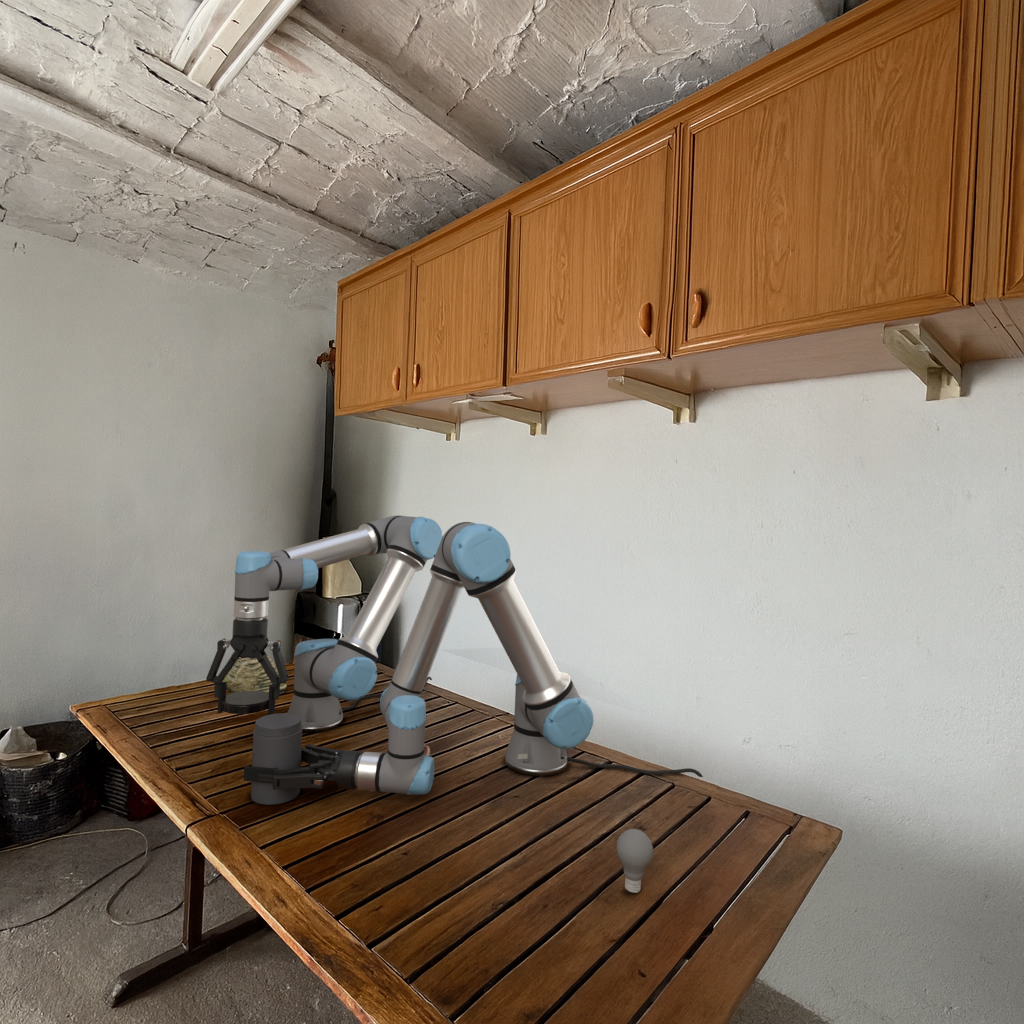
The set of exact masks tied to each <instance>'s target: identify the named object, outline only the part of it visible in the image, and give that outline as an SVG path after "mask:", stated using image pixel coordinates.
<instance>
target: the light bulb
mask: <svg viewBox="0 0 1024 1024" xmlns="http://www.w3.org/2000/svg"><path fill="white" fill-rule="evenodd" d="M615 849H616V854H617V857H618V859H619V861H620V863H621V865H622V867H623V873H624V874H623V875H624V876H625V878H624V888H625V890H627V891H628V892H630V893H634V894H635V893H639V892H640V891H641V889H642V887H641V886H642V879H643V877H644V875H645V871H646V868H647V867H648V866H649V864H650V863H651V861H652V859H653V855H654V847H653V843H652V841H651V838H649V836H648V835H647V834H646V833H645V832H643V831H642V830H641V829H636V828H629V829H627V830H625V831H623V832H622V833H621V834H620V835H619V837H618V839H617V841H616V847H615Z"/></svg>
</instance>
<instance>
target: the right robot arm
mask: <svg viewBox="0 0 1024 1024" xmlns="http://www.w3.org/2000/svg"><path fill="white" fill-rule="evenodd" d="M442 536H443V537H442V539H441V542H440V544H439V547H438V549H437V552H436V555H435V558H433V561H432V564H431V566H430V569H429V572H430V575H431V578H430V580H429V584H428V586H427V588H426V591H425V594H424V596H423V598H422V601H421V604H420V606H419V608H418V612H417V614H416V617H415V619H414V622H413V624H412V627H411V629H410V631H409V634H408V636H407V639H406V642H405V644H404V647H403V650H402V652H401V654H400V657H399V660H398V662H397V665H396V667H395V670H394V672H393V675H392V678H391V679H390V680H391V681H390V683H389V685H388V687H386V688H385V689H384V690H383V692H382V693H381V694H382V695H381V696H380V698H379V700H380V702H379V705H380V707H379V708H380V712H381V714H382V716H383V718H384V721H385V724H386V727H387V731H388V740H387V742H388V743H387V744H388V746H387V753H386V752H378V751H363V752H362V751H359V750H348V749H347V750H345V749H333V748H329V747H324V746H319V745H314V744H309V743H307V744H305V745H304V747H303V746H302V750H301V763H305V764H308V766H303V767H302V766H301V768H295V769H287V770H280V771H277V767H276V768H265V767H252V765H251V766H250V765H245V766H244V767H243V782H251V781H254V782H267V783H273V789H274V790H277V789H299V788H300V789H318V790H322V789H324V788H325V783H326V782H335V783H336V786H337V788H339V789H340V790H352V791H355V790H356V789H357V790H359V791H367V792H370V793H375V792H378V793H379V792H381V793H391V794H392V793H393V794H402V795H407V796H409V795H411V796H412V795H413V796H414V795H416V796H417V795H419V796H421V795H427V794H428V793H430V792H431V789H432V788H433V784H434V780H435V779H434V778H435V770H436V769H435V768H436V766H435V759H434V757H432V756H430V755H429V756H427V755H425V752H424V745H425V737H426V721H427V715H428V714H427V713H426V712H427V704H426V701H425V699H424V698H423V697H421V695H422V693H423V691H424V688H425V686H426V684H427V683H426V680H427V678H428V677H429V675H430V673H431V670H432V667H433V664H434V662H435V661H436V657H437V655H438V652H439V649H440V646H441V644H442V642H443V640H444V637H445V634H446V632H447V629H448V626H449V623H450V622H451V619H452V616H453V614H454V611H455V609H456V606H457V603H458V601H459V598H460V596H461V594H462V590H463V589H464V590H465V591H466V594H467V595H468V597H472V598H475V599H476V600H478V602H479V603H480V605H481V607H482V609H483V611H484V613H485V615H486V617H487V619H488V621H489V622H490V625H491V627H492V628H493V630H494V632H495V634H496V636H497V638H498V640H499V642H500V643H501V646H502V647H503V650H504V652H505V654H506V655H507V657H508V659H509V661H510V663H511V665H512V666H513V669H514V671H515V672H516V680H515V683H514V686H515V692H514V696H515V697H514V716H513V717H514V720H513V723H514V724H513V731H512V734H511V737H510V740H509V742H508V745H507V748H506V751H505V755H504V756H505V757H504V763H505V765H506V766H507V767H508V768H509V769H511V770H512V771H514V772H516V773H519V774H522V775H527V776H533V777H547V776H554V775H558V774H560V773H562V772H564V771H565V770H566V769H567V767H568V762H570V763H571V762H572V763H576V764H581V765H585V766H588V767H592V768H599V769H622V770H627V771H633V772H635V773H641V774H644V775H668V774H683V773H692V774H695V775H696V776H697V777H699V778H703V777H704V776H703V774H702V773H701V772H700V771H699V770H697V769H694V768H689V767H687V768H679V769H678V768H677V769H658V770H652V769H651V770H650V769H643V768H638V767H635V766H630V765H627V764H617V763H616V764H615V763H596V762H590V761H586V760H583V759H578V758H574V757H570V756H568V754H567V750H570V749H573V748H577V747H578V746H580V745H581V744H583V742H584V741H586V740H587V739H588V737H589V735H590V734H591V731H592V729H593V726H594V721H595V720H594V712H593V709H592V707H591V706H590V704H589V703H588V702H587V701H586V700H585V699H584V698H582V697H581V696H580V694H579V692H578V690H577V688H576V687H575V683H574V682H573V680H572V678H571V677H570V675H569V674H568V673H567V672H564V671H562V670H559V668H558V666H557V664H556V662H555V660H554V658H553V656H552V654H551V651H550V650H549V648H548V646H547V643H546V642H545V640H544V639H543V636H542V634H541V631H540V630H539V628H538V626H537V624H536V622H535V620H534V618H533V616H532V614H531V612H530V610H529V608H528V606H527V605H526V602H525V601H524V598H523V597H522V595H521V592H520V591H519V588H518V587H517V585H516V582H515V581H514V579H515V577H516V574H517V569H516V567H515V565H514V563H513V561H512V559H511V557H512V553H511V547H510V545H509V542H508V540H507V538H506V537H505V536H504V535H503V534H502V533H501V532H500V531H499V530H497V528H495V527H493V526H492V525H489V524H485V523H476V522H471V521H461V522H458V523H455V524H454V525H452V526H450V527H449V528H448V529H447V530H446V531H445V532H444V533H443V534H442ZM425 683H426V684H425ZM668 770H669V771H668Z"/></svg>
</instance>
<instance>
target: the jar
mask: <svg viewBox="0 0 1024 1024" xmlns="http://www.w3.org/2000/svg"><path fill="white" fill-rule="evenodd" d="M254 726H255V728H254V729H253V732H252V752H251V753H252V755H251V756H252V757H251V766H252V767H265V768H276V767H277V771H280V770H287V769H295V768H302V762H301V750H302V747H303V732H302V726H301V718H300V717H299V716H297V715H294V714H288V713H287V712H281V713H272V714H271V715H269V714H267V715H263V716H260V717H259V718H257V719H256V721H255V723H254ZM250 782H251V783H250V798H251V800H252V802H254V803H255V804H260V805H265V806H267V805H268V806H272V805H279V804H284V803H288V802H290V801H292V800H294V799H296V798H297V797H298V796H299V794H300V793H301V788H299V789H277V790H274V789H273V783H267V782H254V781H250Z"/></svg>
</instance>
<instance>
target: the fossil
mask: <svg viewBox="0 0 1024 1024" xmlns="http://www.w3.org/2000/svg"><path fill="white" fill-rule="evenodd" d="M234 652H235V651H234V650H233V651H232V653H231V656H232V655H233V653H234ZM231 656H230V657H229V659H228V660H227V662H228V661H229V660H230V658H231ZM267 657H268V659H269V661H270V662H271V664H272V666H273V667H274V669H275V671H276V673H277V674H278V671H277V667H276V664H275V660H274V659H272V658H271V657H270V656H269V655H268V654H267ZM278 676H279V674H278ZM279 678H280V677H279ZM222 682H227V684H226V691H228V693H229V694H231V693H235V692H241V691H263V692H267V693H269V686H270V685H271V684H272V682H271V681H270V679H269V677H268V676H267V674H266V672H265V671H264V669H263V667H262V666H261V664H260V662H258V661H257V659H256V658H255V659H250V658H241V657H240V658H239V659H238V660H237V661H236V663H235V664H234V666H233V667H232V668H231V670H230V671H229V673H228V674H227V675H226V677H225V678H224V680H223V681H222ZM287 687H288V686H287V682H286V683H284V684H280V694H284V693H285V691H286V689H287Z"/></svg>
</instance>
